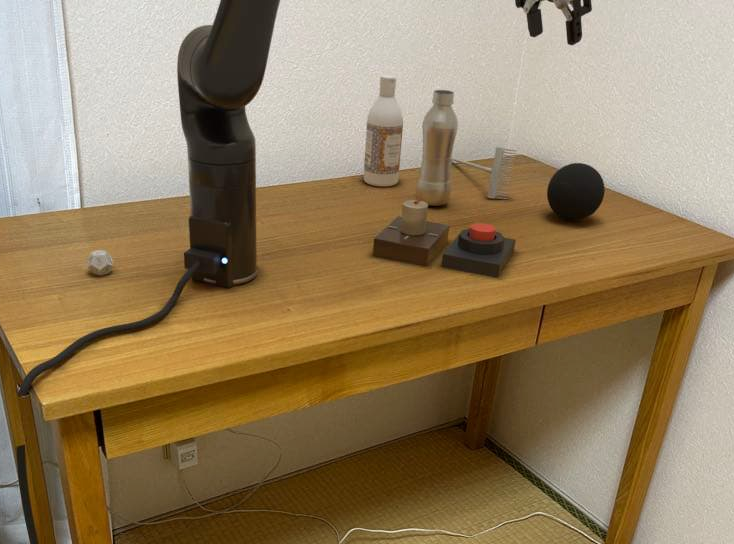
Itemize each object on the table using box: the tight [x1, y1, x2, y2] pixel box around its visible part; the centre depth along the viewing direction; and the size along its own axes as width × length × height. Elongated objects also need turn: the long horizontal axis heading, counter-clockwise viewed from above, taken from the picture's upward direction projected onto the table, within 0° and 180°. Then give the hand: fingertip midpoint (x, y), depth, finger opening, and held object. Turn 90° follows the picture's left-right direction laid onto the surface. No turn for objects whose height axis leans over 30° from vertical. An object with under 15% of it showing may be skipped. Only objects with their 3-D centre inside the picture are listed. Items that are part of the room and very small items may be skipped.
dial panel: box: [372, 215, 450, 268], centre depth 132 cm, size 12×9×3 cm
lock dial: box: [400, 198, 429, 235], centre depth 130 cm, size 4×4×5 cm
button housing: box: [441, 227, 517, 279], centre depth 130 cm, size 12×9×4 cm
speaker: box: [546, 162, 605, 221], centre depth 148 cm, size 10×10×10 cm
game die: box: [86, 249, 114, 276], centre depth 118 cm, size 4×4×3 cm
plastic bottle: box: [415, 89, 459, 207], centre depth 148 cm, size 6×7×20 cm
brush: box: [451, 146, 517, 200], centre depth 168 cm, size 4×28×9 cm, turn 11°
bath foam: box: [363, 74, 404, 188], centre depth 158 cm, size 7×7×20 cm
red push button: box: [469, 222, 497, 241], centre depth 129 cm, size 4×4×2 cm
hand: (555, 39), depth 129 cm, fingers open, 8 cm apart
